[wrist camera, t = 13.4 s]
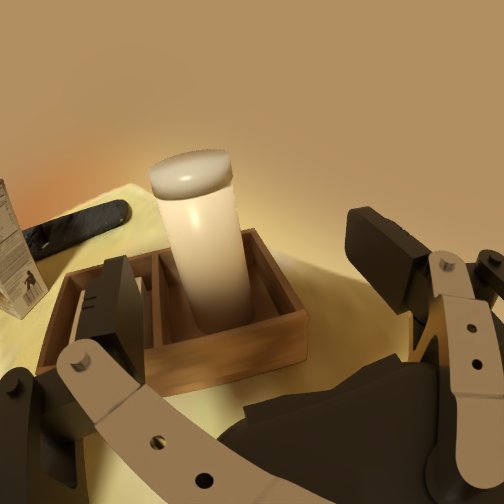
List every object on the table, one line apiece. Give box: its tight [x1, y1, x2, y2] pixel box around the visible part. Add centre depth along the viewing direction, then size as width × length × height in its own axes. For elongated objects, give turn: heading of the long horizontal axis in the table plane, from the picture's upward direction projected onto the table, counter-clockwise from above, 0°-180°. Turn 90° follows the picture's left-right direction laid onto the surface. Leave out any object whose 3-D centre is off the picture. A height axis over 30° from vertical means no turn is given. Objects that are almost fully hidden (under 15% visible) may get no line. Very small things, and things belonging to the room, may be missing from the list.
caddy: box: [35, 228, 308, 397], centre depth 25 cm, size 20×13×5 cm, turn 106°
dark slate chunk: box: [22, 200, 128, 261], centre depth 47 cm, size 15×22×5 cm
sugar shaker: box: [148, 149, 254, 335], centre depth 23 cm, size 5×5×14 cm
